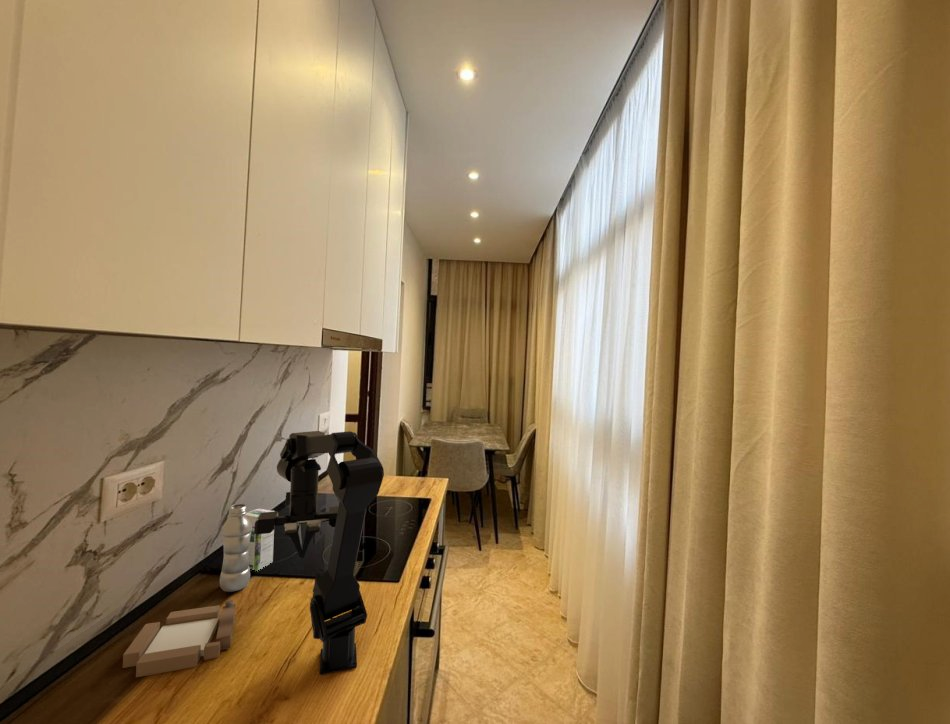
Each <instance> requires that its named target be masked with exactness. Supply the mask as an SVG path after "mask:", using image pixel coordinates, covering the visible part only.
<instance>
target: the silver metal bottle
mask: <svg viewBox="0 0 950 724" xmlns="http://www.w3.org/2000/svg"><path fill="white" fill-rule="evenodd" d="M246 513H248V512H247V504H243V503H238V504H237V503H235V504H232V505H230V506H229V511H228V516H229V518H228V519H226V521H225V522H224V525H223V527H222V528H221V536H222V544H223V560H222V566H221V572H220V576H219V587H220V589H222V591H223V592H226V593H232V592H233V593H234V592H237V591H241V590H242V589H245V587H247V585H248V584H249V582H250V579H251V570H250V568H249V557H248V552H249V549H248V548H249V541H250V536H251V531H252V524H251V521H250V520H249V519H248V518H247V516H246V515H245V514H246Z"/></svg>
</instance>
